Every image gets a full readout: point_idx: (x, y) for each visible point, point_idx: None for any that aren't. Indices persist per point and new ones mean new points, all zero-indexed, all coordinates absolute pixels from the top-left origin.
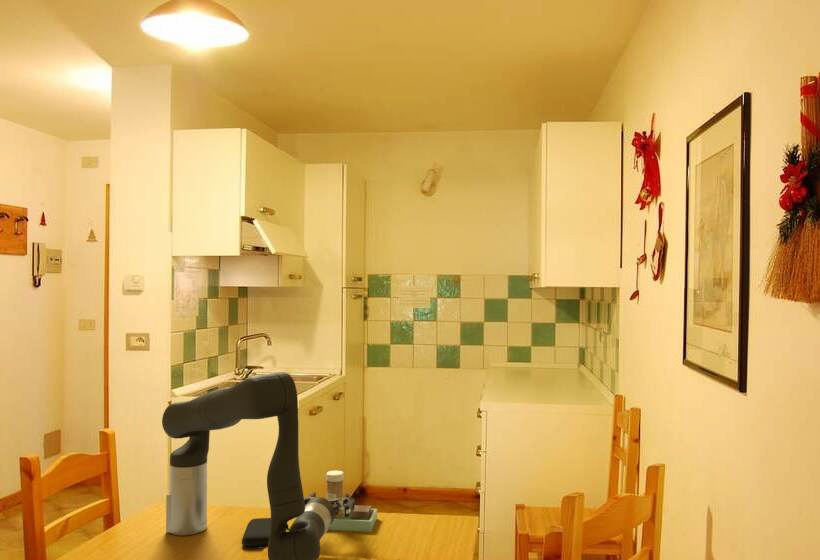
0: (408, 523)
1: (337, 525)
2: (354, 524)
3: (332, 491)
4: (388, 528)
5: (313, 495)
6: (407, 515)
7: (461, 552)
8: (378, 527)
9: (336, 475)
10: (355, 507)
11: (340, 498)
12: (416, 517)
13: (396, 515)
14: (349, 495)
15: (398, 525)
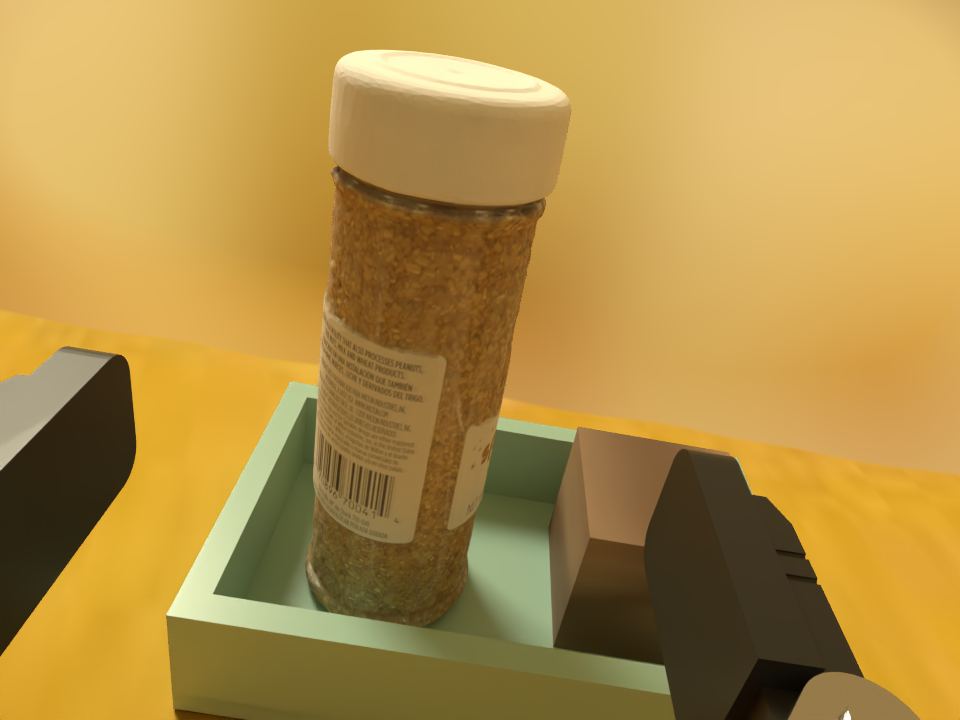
0: (954, 587)
1: (434, 699)
2: (637, 718)
3: (405, 322)
4: (868, 669)
5: (28, 457)
6: (860, 473)
7: None
8: None
9: (496, 109)
10: (600, 465)
11: (488, 401)
12: (935, 504)
13: (791, 467)
14: (761, 503)
15: (908, 616)
